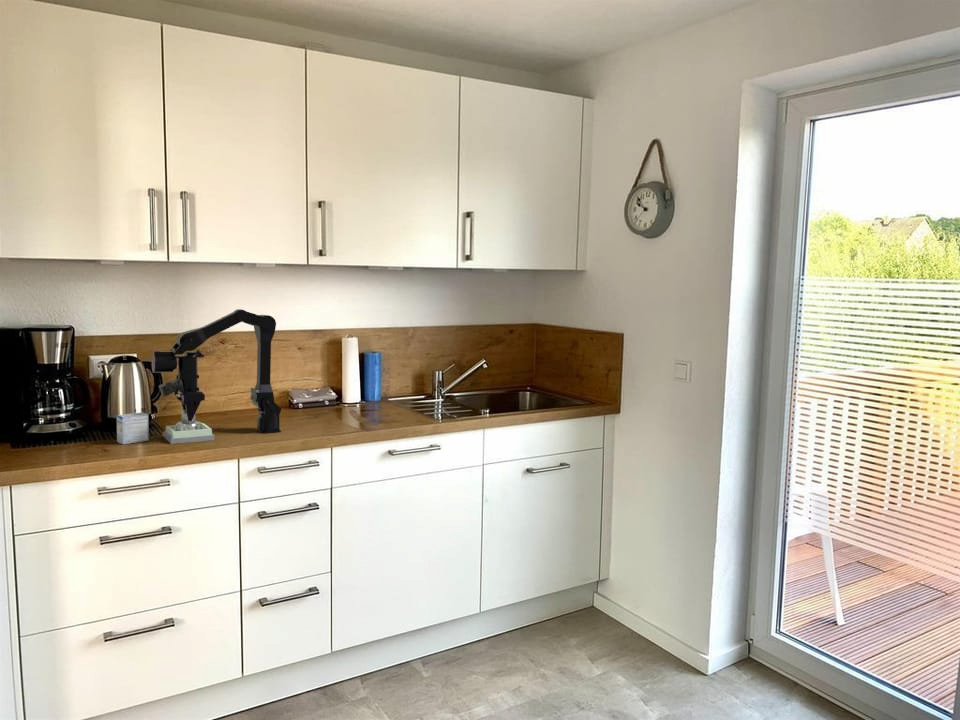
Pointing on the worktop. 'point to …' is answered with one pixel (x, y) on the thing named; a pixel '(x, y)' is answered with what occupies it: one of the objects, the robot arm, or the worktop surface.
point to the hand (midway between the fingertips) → (188, 419)
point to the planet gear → (187, 423)
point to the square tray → (188, 434)
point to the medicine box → (132, 428)
